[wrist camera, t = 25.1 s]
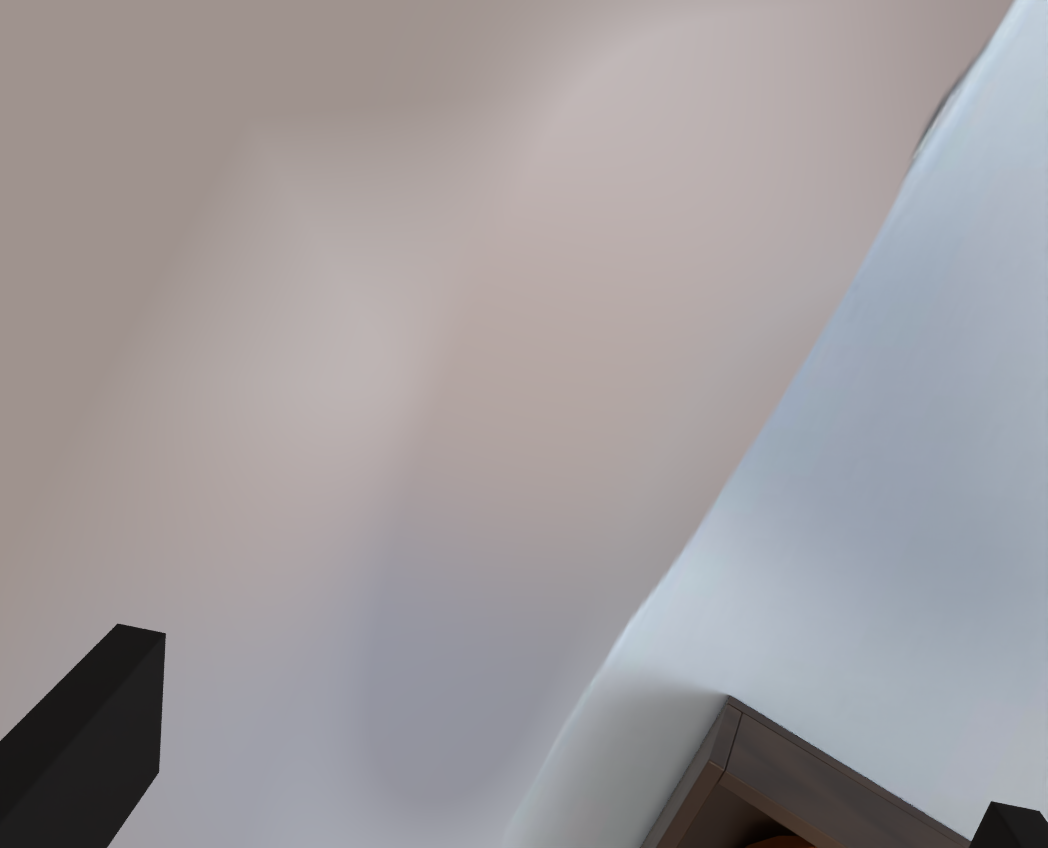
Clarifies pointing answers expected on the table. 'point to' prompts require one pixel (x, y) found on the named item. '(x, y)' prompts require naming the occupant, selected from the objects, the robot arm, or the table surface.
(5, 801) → the robot arm
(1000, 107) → the table surface
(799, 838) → the cheeseburger
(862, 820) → the bin
